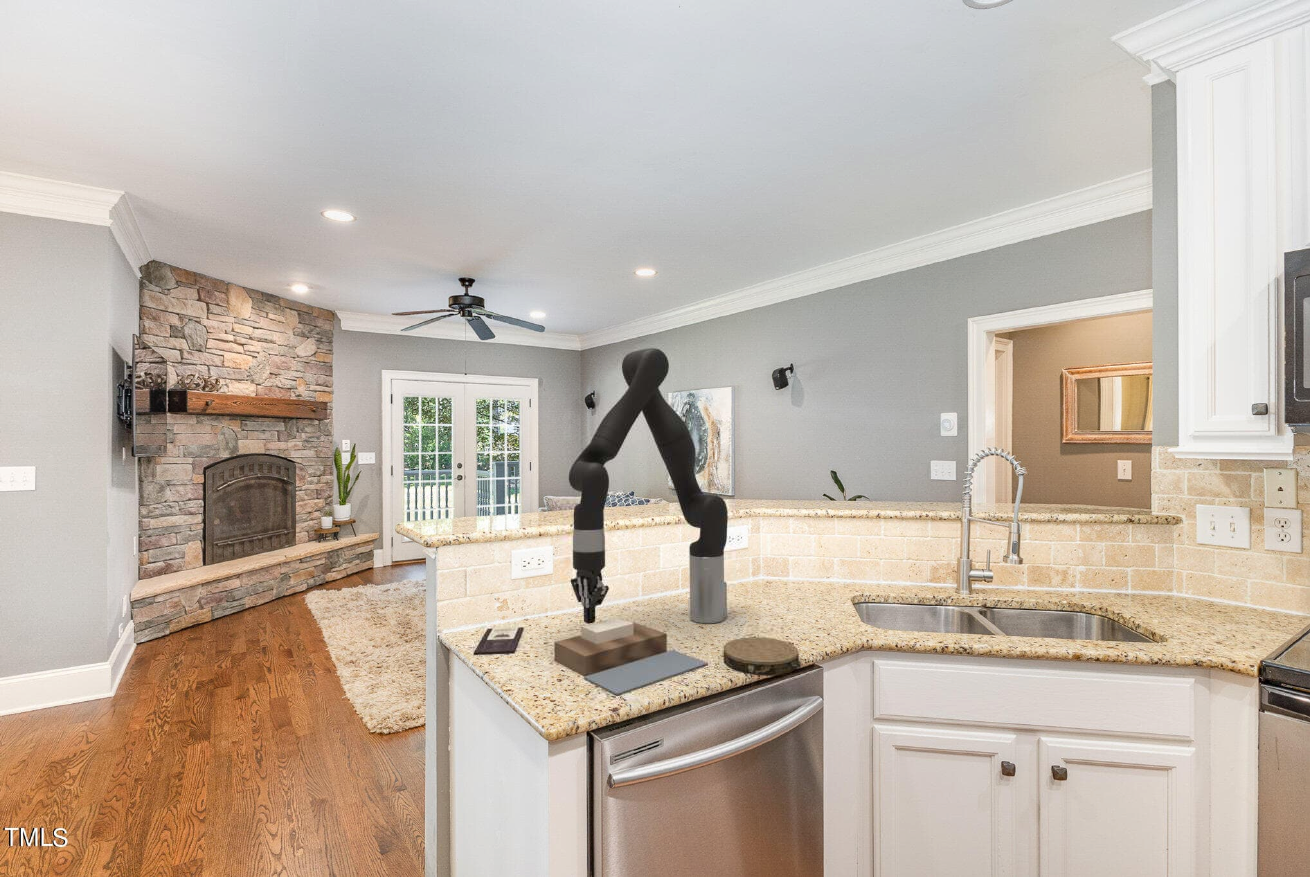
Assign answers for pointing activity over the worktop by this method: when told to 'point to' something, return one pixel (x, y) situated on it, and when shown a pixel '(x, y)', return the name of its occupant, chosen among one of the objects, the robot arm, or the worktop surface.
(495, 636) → the chocolate bar
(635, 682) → the mat
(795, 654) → the brown round disc
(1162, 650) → the worktop surface
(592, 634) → the tile
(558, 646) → the board
